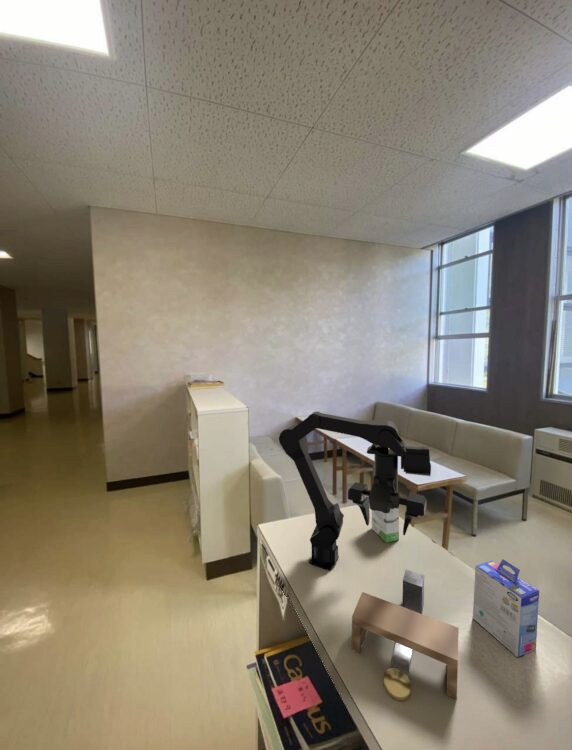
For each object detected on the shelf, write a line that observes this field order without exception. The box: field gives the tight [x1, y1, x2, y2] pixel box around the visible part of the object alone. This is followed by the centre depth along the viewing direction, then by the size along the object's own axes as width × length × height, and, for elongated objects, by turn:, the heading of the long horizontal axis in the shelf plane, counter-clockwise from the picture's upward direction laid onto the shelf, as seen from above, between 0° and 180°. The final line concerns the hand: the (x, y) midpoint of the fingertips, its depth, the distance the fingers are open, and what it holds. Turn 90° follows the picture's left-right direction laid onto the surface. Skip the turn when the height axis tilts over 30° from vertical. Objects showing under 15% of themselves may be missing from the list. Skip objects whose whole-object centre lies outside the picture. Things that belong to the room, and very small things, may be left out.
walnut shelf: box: [351, 591, 460, 700], centre depth 59 cm, size 18×7×7 cm, turn 60°
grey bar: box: [391, 569, 425, 674], centre depth 65 cm, size 4×18×7 cm, turn 150°
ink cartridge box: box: [472, 558, 540, 657], centre depth 64 cm, size 10×6×14 cm, turn 20°
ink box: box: [371, 507, 400, 543], centre depth 99 cm, size 9×5×12 cm, turn 15°
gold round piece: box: [383, 667, 412, 703], centre depth 54 cm, size 4×4×2 cm
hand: (385, 529), depth 81 cm, fingers open, 9 cm apart
